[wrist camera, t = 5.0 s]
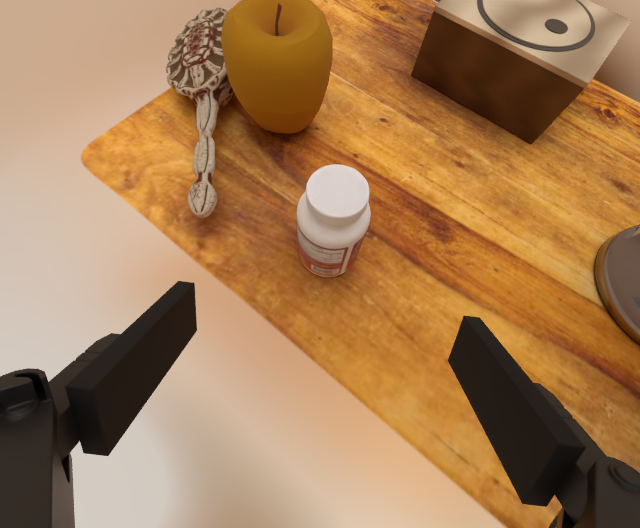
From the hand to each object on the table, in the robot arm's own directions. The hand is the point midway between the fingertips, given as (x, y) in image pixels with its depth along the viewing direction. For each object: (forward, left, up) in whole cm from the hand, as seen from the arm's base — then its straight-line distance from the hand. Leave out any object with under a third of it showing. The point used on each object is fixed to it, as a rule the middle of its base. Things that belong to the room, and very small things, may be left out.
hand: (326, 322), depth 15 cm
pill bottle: (+2, -10, -15) cm, 18 cm away
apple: (+13, -26, -14) cm, 32 cm away
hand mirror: (+14, -8, -11) cm, 20 cm away
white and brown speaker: (-13, -44, -14) cm, 48 cm away
